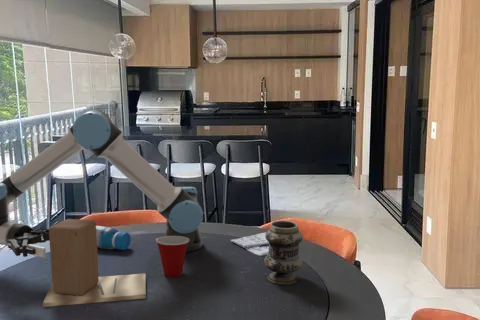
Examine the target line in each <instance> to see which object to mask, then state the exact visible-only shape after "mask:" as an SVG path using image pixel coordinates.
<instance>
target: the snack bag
mask: <svg viewBox="0 0 480 320" xmlns="http://www.w3.org/2000/svg"><path fill="white" fill-rule="evenodd" d="M266 232H267V231H265V232H261V233H256V234H253V235H248V236H243V237H239V238H235V239H234V238H233V239H230V242H231V243H232V242H233V244H234V243H235V245H236V246H238V247H240V248H242V247H243V249H244V248H245V249H246V250H245V249H244V250H245V251H248V252H250V253H252V254H254V255H256V256H258V257H263V256H266V255H267V254H268V252H269V246H268V245H269V242H268V241H267V240H266V238H265V234H266ZM260 246H261V247H260Z"/></svg>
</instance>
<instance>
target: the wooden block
mask: <svg viewBox="0 0 480 320" xmlns="http://www.w3.org/2000/svg"><path fill="white" fill-rule="evenodd" d="M96 225H97V224H96V221H95V220H93V219H91V220H90V219H77V218H74V219H73V218H67V219H64V220H62V221H60V222H58V223H56V224H54V225H51V226H50V227H49V228H48V229H49V239H50V241H49V254H50V266H51V267H50V269H51V270H50V271H51V282H52V283H51V285H52V286H53V292H54V293H62V294H72V295H84V294H85V293H86V292H87V291H89V290H90V289H91V288H93V287H94V286H95V285H96V284H98V281H99V277H100V276H99V260H98V259H99V257H98V247H97V236H96Z"/></svg>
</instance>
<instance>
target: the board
mask: <svg viewBox="0 0 480 320" xmlns="http://www.w3.org/2000/svg"><path fill="white" fill-rule="evenodd" d="M146 275H147V274H146V272H145V273H135V274H134V273H132V274H121V275H107V276H99V281H98V284H96V285H95V286H94V287H93V288H91V289H90V290H89V291H87V292H86V293H85V294H84V295H72V294H62V293H54V292H53V286H52V284H51V285H50V287H49V289H48V291H47V294H46V295H45V297H44V300H43V302H42V307H43V308H46V307H57V306H58V307H60V306H71V305H80V304H82V305H83V304H92V303H104V302H105V303H106V302H116V301H119V302H120V301H128V300H129V301H130V300H139V299H140V300H141V299H146V297H147V296H146V295H147V293H146V291H147V290H146V286H147V285H146V284H147V282H146V279H147V278H146Z"/></svg>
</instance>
